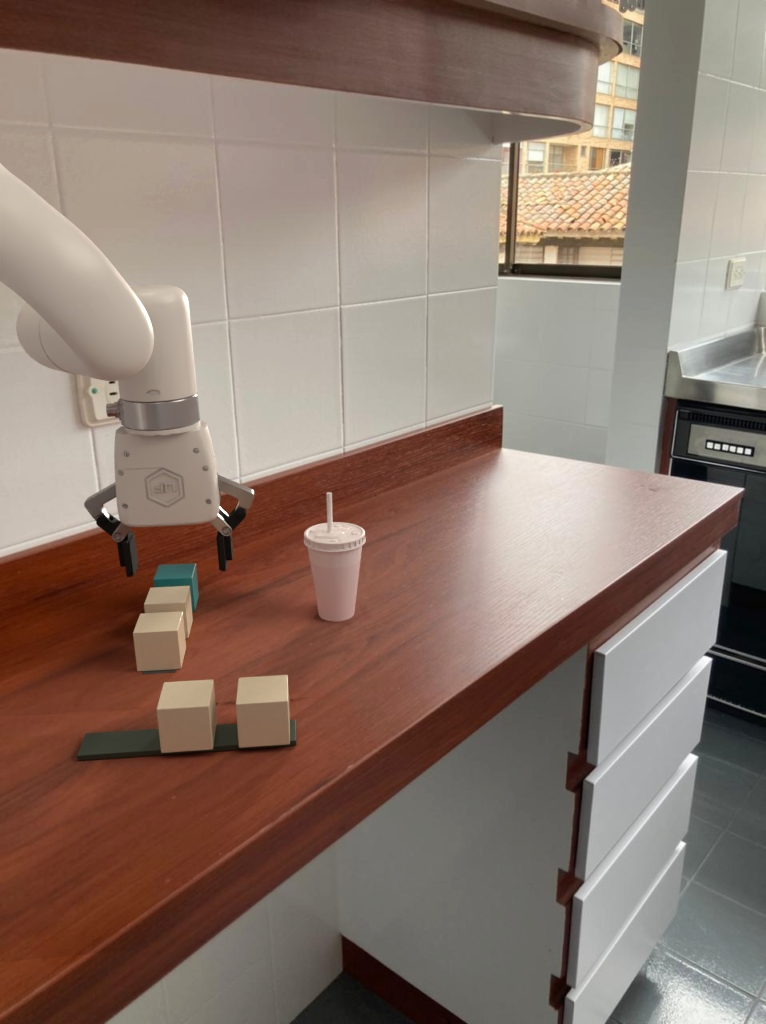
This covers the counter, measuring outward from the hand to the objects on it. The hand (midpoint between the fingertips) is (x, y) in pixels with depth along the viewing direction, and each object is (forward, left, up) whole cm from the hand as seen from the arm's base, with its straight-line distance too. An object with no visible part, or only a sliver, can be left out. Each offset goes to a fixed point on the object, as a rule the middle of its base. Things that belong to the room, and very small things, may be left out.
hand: (178, 569), depth 88 cm
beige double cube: (0, -6, -5) cm, 8 cm away
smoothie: (+17, -4, -5) cm, 18 cm away
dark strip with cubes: (+4, -25, -5) cm, 26 cm away
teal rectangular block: (0, 0, -4) cm, 4 cm away
